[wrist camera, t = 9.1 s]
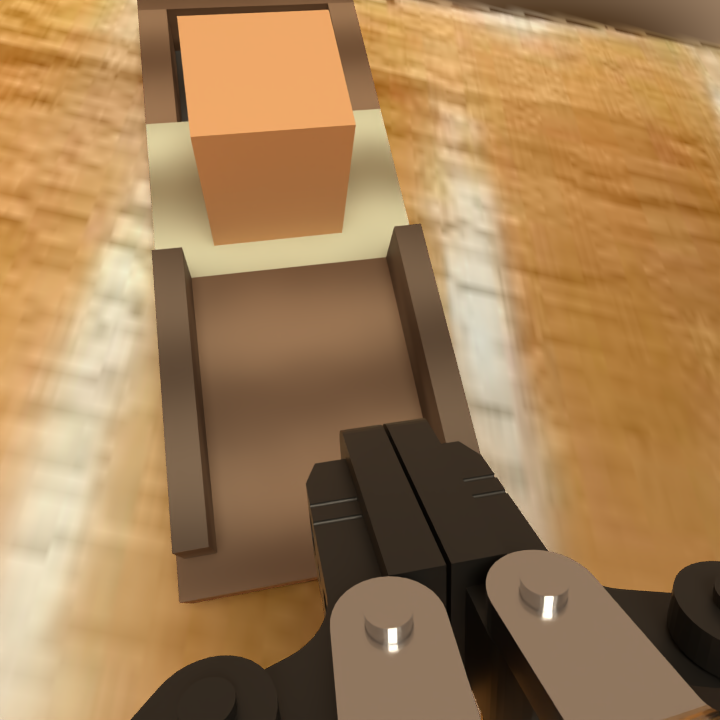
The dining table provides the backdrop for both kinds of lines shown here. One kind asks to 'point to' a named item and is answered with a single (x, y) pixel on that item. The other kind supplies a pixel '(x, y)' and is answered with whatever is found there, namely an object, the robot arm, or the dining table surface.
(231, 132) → the block
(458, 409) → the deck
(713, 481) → the dining table surface
